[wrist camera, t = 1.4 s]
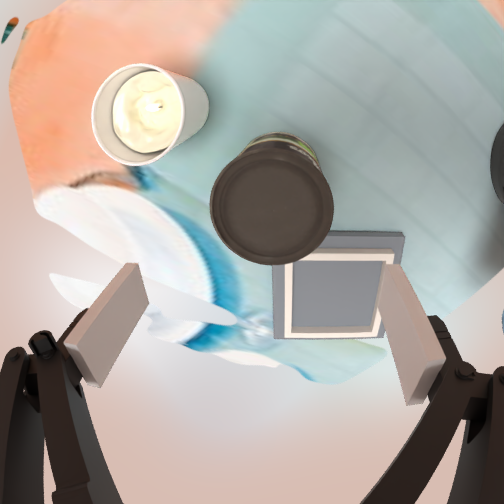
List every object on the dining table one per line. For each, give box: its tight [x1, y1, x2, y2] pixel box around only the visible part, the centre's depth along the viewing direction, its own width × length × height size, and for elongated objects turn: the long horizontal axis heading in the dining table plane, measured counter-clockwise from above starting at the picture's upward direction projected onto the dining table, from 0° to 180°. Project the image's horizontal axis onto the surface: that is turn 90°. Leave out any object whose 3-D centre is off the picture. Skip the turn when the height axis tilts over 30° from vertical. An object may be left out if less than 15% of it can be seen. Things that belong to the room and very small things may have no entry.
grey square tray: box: [272, 231, 405, 339], centre depth 43 cm, size 18×18×3 cm
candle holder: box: [91, 63, 209, 166], centre depth 30 cm, size 10×10×12 cm
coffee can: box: [210, 132, 334, 265], centre depth 31 cm, size 10×10×14 cm
